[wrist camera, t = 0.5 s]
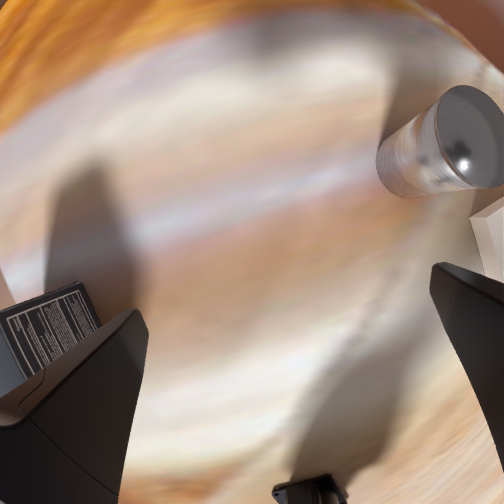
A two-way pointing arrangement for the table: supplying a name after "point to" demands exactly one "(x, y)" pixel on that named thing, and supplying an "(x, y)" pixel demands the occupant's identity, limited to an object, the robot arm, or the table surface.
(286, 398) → the table surface
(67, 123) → the table surface
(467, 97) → the steel weight
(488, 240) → the base
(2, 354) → the small box
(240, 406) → the table surface
